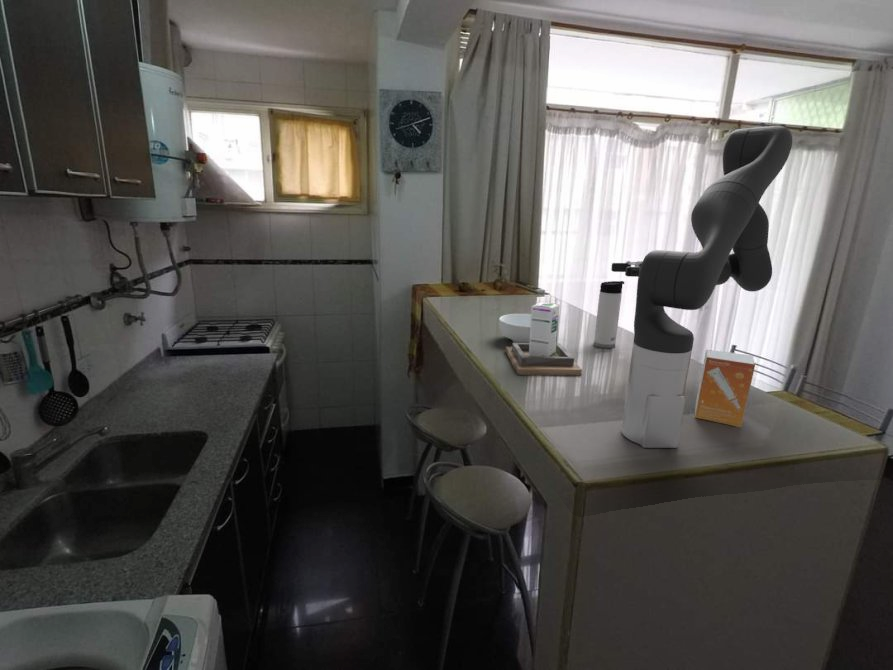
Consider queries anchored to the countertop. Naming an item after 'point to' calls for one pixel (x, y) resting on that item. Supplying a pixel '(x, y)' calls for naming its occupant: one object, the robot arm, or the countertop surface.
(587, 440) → the countertop surface
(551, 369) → the wooden tray
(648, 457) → the countertop surface
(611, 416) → the countertop surface
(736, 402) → the small box
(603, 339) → the travel mug
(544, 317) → the syrup box
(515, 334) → the cereal bowl
